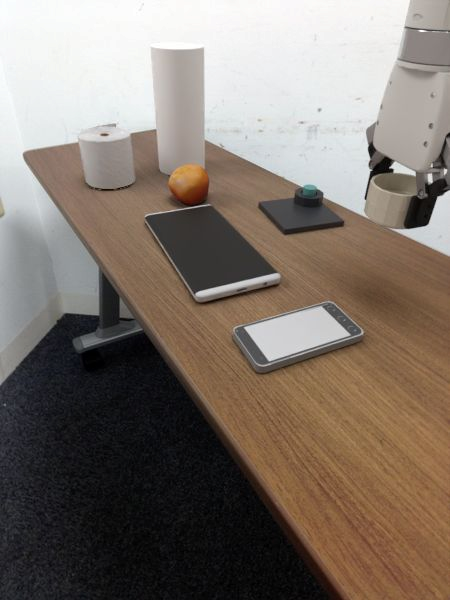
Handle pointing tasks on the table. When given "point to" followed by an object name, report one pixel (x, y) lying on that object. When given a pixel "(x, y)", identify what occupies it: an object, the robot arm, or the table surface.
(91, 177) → the toilet tissue
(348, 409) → the table surface
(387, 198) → the bowl
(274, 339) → the smartphone
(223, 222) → the tablet
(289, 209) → the scale
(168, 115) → the tall pillar cylinder
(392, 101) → the robot arm
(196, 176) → the fruit
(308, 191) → the button
